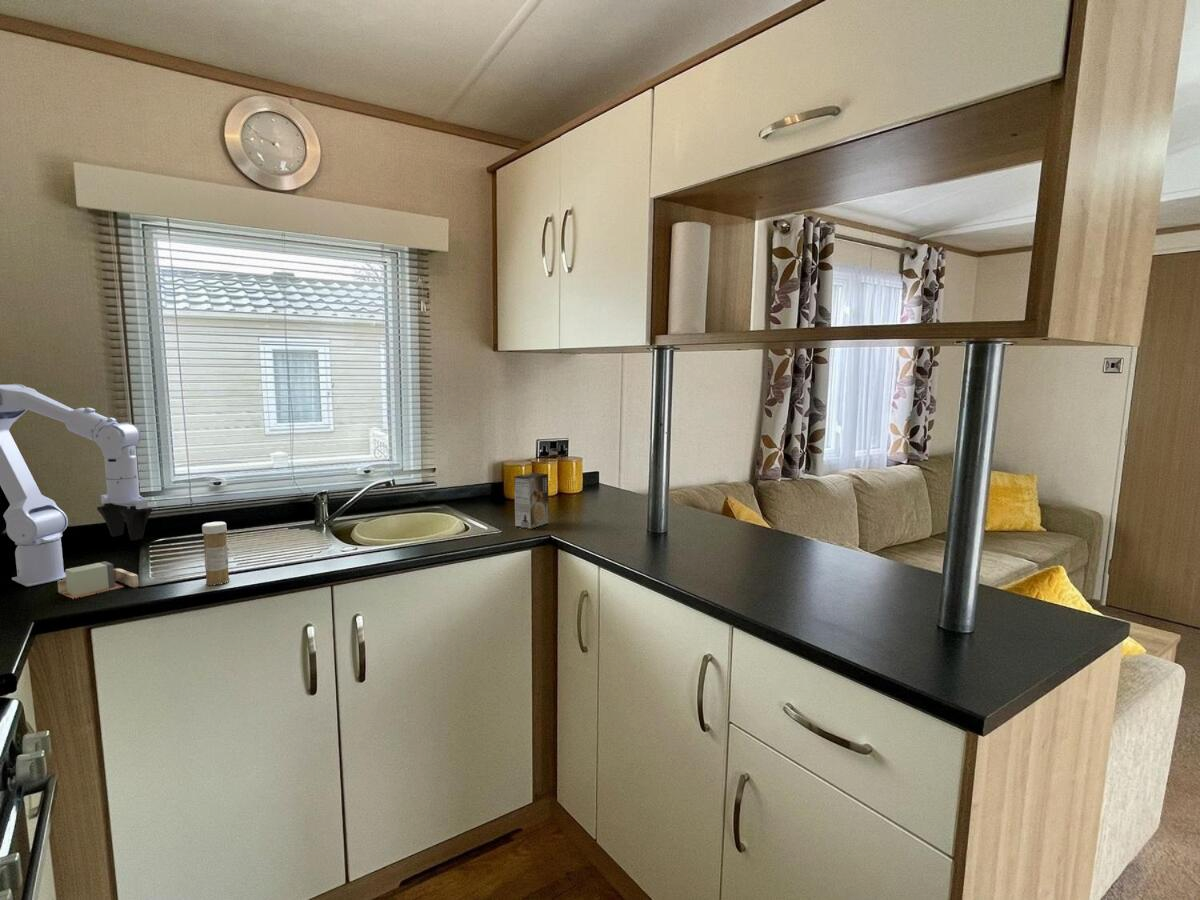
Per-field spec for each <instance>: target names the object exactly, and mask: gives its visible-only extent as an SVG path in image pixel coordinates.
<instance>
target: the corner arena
mask: <svg viewBox="0 0 1200 900" xmlns="http://www.w3.org/2000/svg"><path fill="white" fill-rule="evenodd" d="M114 580H115V587H113V588H108V589H104V590H100V591H95V592H91V593H86V594H82V595H78V596H73V595H71V594H69V593H67V583H66V579H62V580H57V582H56V583H57V592H58V593H59V594H61V595H63V596H65V597H67V598H69V597H70V598H69V599H71V598H72V600H75V599H79V597H80V598H84V597H88V596H92V595H96V593H97V594H101V593H105V592H108V591H109V590H110V591H112V590H118V589H121V588H125V586H124V585H126V586H128V587H131V588H136V587H137V588H138V587H140V585H139V584H140V583H139V575H138V574H136V573H133V572H130V571H127V570H125V569H123V568H119V567H117V568H114ZM118 581H119V583H121V584H119V583H116V582H118ZM123 583H124V584H123ZM122 584H123V585H122ZM110 591H109V592H110ZM74 598H75V599H74Z"/></svg>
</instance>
